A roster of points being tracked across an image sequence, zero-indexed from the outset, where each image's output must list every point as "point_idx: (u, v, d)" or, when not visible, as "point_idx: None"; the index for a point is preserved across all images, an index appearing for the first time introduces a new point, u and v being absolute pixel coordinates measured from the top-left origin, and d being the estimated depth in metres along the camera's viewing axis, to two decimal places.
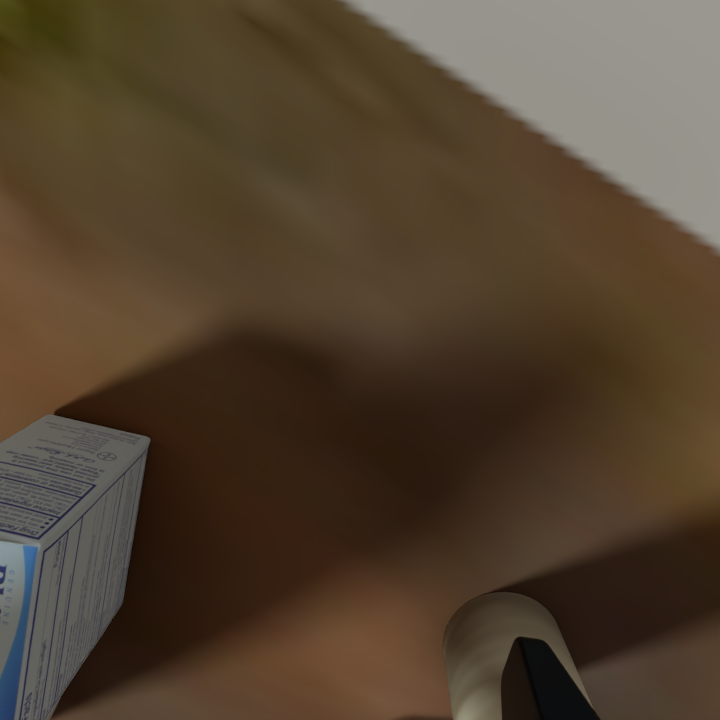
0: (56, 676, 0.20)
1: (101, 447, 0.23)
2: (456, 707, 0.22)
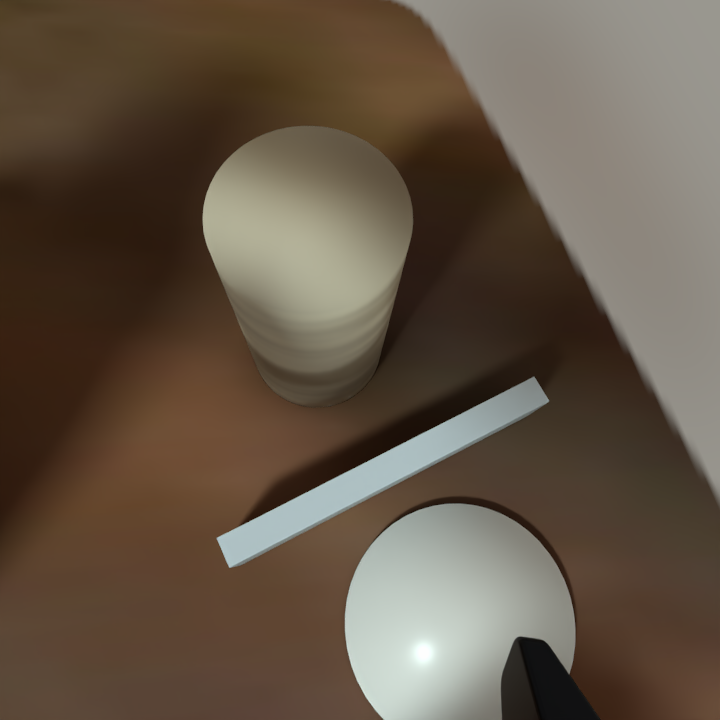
0: None
1: None
2: None
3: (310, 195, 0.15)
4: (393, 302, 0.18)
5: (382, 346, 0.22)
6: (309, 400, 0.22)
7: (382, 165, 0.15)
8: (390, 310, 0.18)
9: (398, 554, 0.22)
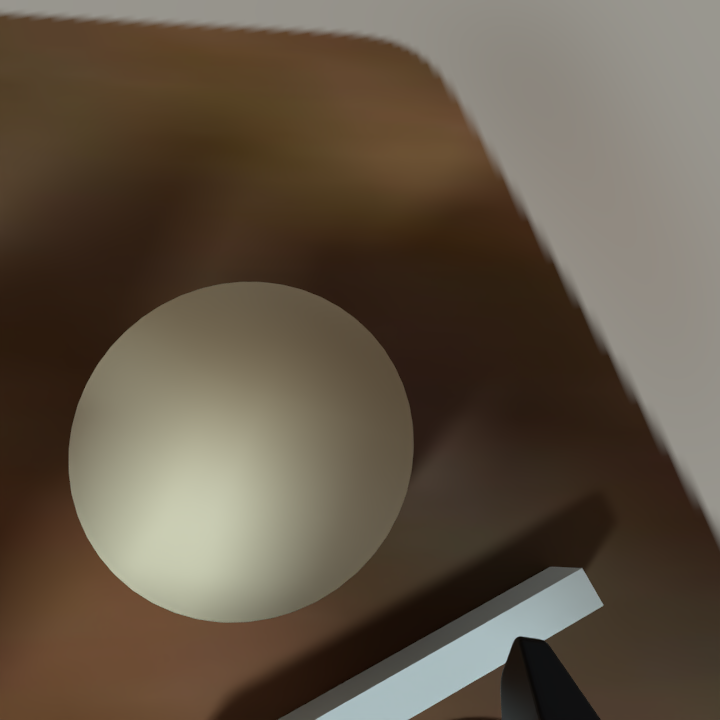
0: None
1: None
2: None
3: (248, 403, 0.09)
4: None
5: None
6: None
7: (365, 348, 0.10)
8: None
9: None
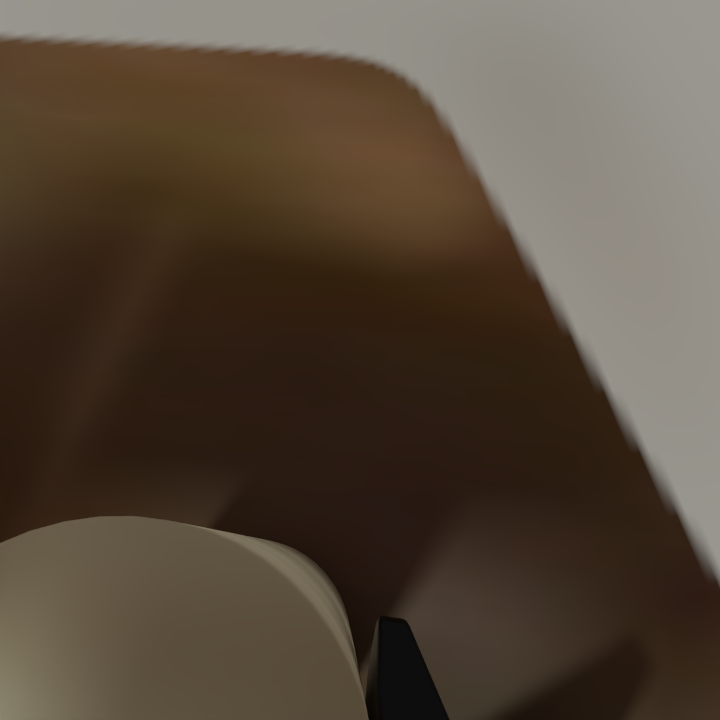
0: None
1: None
2: None
3: None
4: None
5: None
6: None
7: (302, 635, 0.06)
8: None
9: None
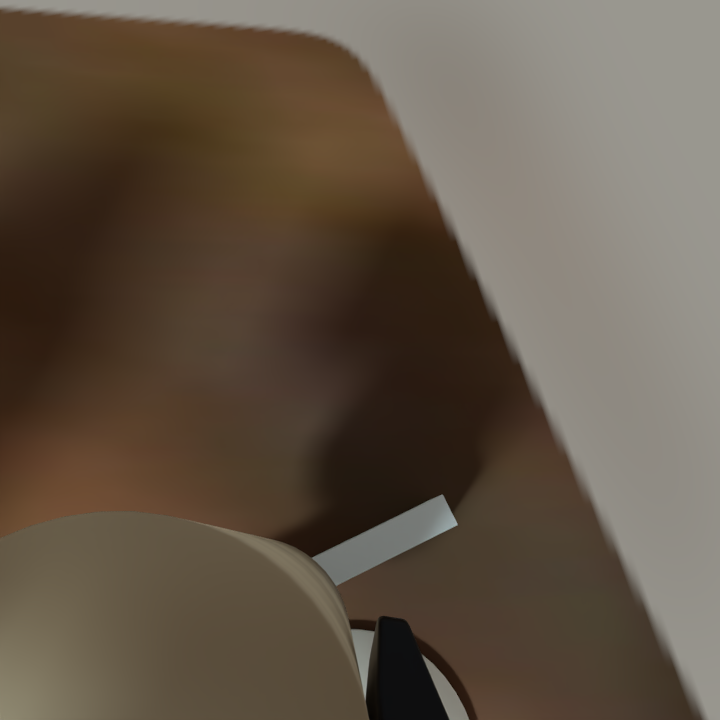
0: None
1: None
2: None
3: None
4: None
5: None
6: None
7: (301, 630, 0.06)
8: None
9: None
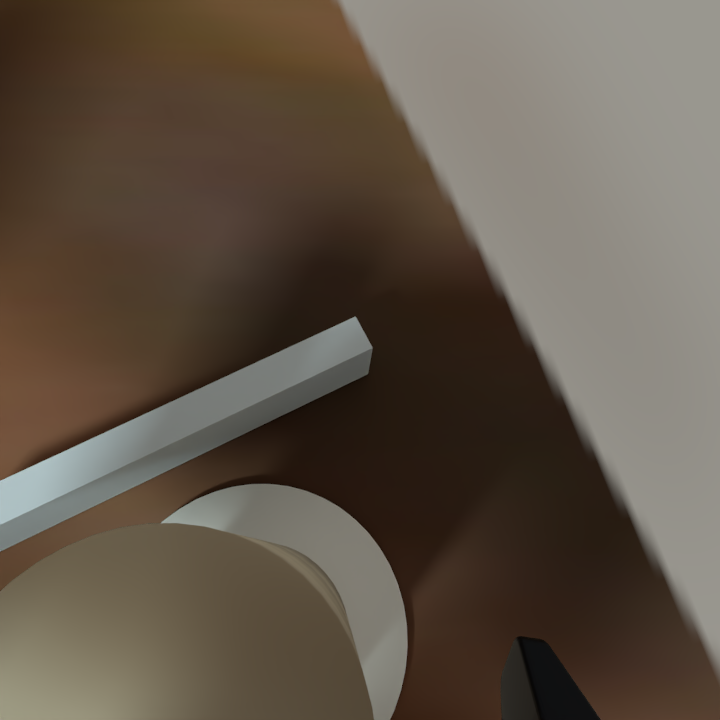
0: None
1: None
2: None
3: (152, 711, 0.07)
4: None
5: None
6: None
7: (314, 619, 0.07)
8: None
9: None
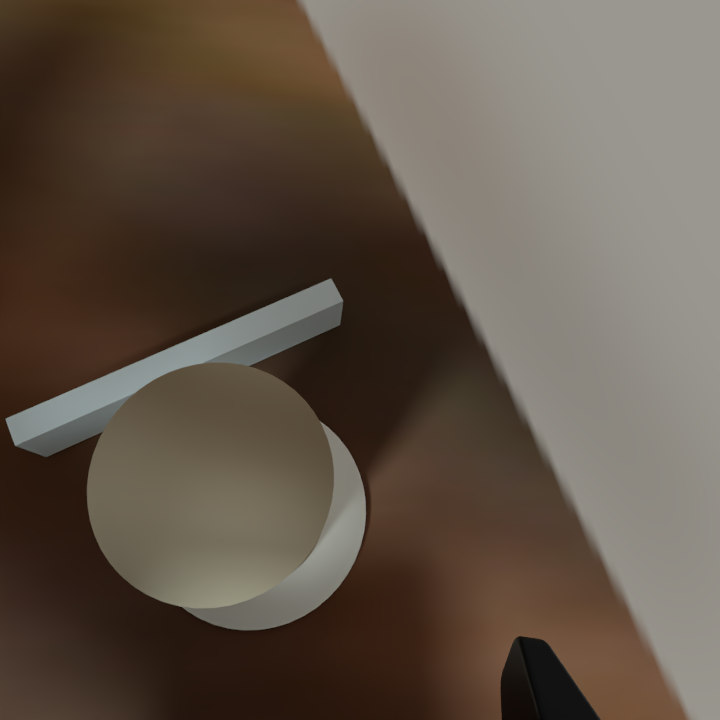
0: None
1: None
2: None
3: (216, 453, 0.13)
4: None
5: None
6: None
7: (301, 412, 0.13)
8: None
9: None
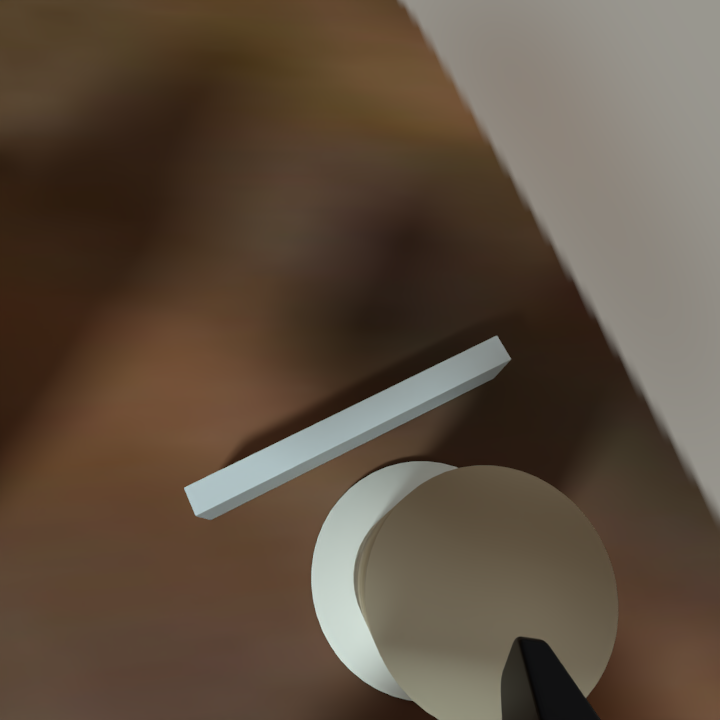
0: None
1: None
2: (360, 607, 0.17)
3: (493, 565, 0.12)
4: None
5: None
6: None
7: (574, 518, 0.13)
8: None
9: (364, 509, 0.22)
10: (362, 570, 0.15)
